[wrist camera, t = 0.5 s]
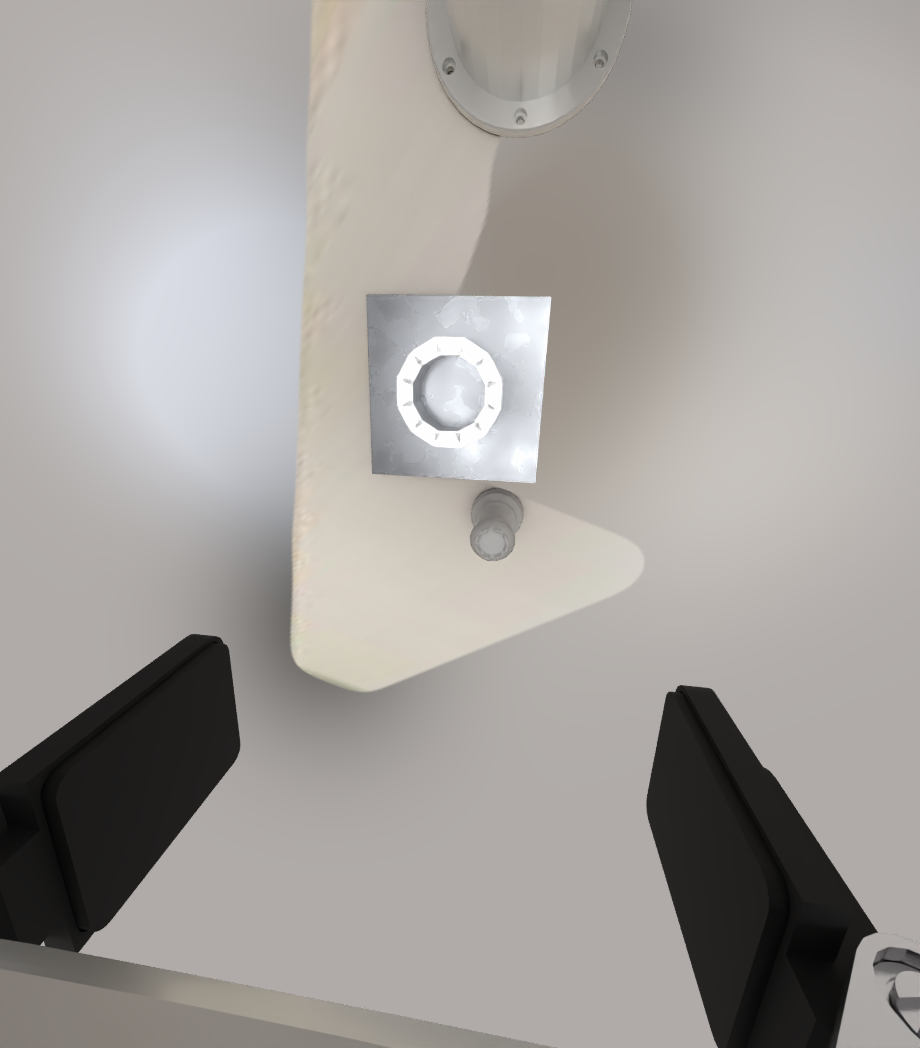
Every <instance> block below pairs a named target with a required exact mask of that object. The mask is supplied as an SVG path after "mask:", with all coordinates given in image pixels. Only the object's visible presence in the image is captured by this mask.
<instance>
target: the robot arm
mask: <svg viewBox="0 0 920 1048" xmlns="http://www.w3.org/2000/svg"><path fill="white" fill-rule="evenodd" d="M631 6H632V0H427V8H426V18H427V33H428V40H429V45H430V49H431V54H432V58H433V62H434V65H435V68H436V71H437V74H438V77H439V80H440V82H441V84H442V86H443V88H444V90H445V91H446V93H447V95H448V97H449V98H450V100H451V101H452V102H453V104H454V105H455V106H456V108H457V109H458V110H459V112H460V113H462V114H463V115H464V116H465V117H466V118H467V119H468V120H470V121H471V122H472V123H473V124H475V125H476V126H478V127H480V128H482V129H484V130H486V131H487V132H489V133H493V134H497V135H500V136H504V137H518V138H525V137H530V136H535V135H539V134H543V133H546V132H548V131H550V130H552V129H555V128H557V127H559V126H561V125H562V124H564V123H565V122H566V121H568V120H570V119H571V118H573V117H574V116H575V115H577V114H578V113H579V112H580V111H581V110H582V109H583V108H584V107H585V106H586V105H587V104H588V103H589V102H590V101H591V100H592V99H593V97H594V96H595V95H596V93H597V92H598V91H599V89H600V88H601V86H602V85H603V84H604V82H605V81H606V79H607V77H608V75H609V73H610V71H611V69H612V67H613V65H614V64H615V62H616V60H617V57H618V54H619V51H620V48H621V45H622V43H623V40H624V37H625V33H626V29H627V25H628V22H629V18H630V14H631ZM596 64H601V65H602V68H597V67H596ZM451 70H452V71H454V72H453V73H452V74H450V75H448V72H449V71H451ZM519 119H522V120H523V121H524V123H523V124H520V125H519V124H517V121H518V120H519ZM239 751H240V737H239V729H238V720H237V712H236V704H235V695H234V687H233V679H232V671H231V663H230V655H229V649H228V647H227V645H225V644H223V641H222V640H221V638H219V637H217V636H208V635H199V634H191V635H189V636H187V637H186V638H185V639H183V640H182V641H180V642H179V643H177V644H176V645H175V646H173V647H172V648H171V649H169V650H168V651H166V652H165V653H164V654H162V655H161V656H159V657H158V658H157V659H155V660H154V661H153V662H151V663H150V664H148V665H147V666H146V667H144V668H143V669H142V670H140V671H139V672H137V673H136V674H135V675H133V676H132V677H131V678H129V679H128V680H126V681H125V682H124V683H122V684H121V685H120V686H118V687H117V688H115V689H114V690H113V691H111V692H110V693H109V694H107V695H106V696H104V697H103V698H102V699H100V700H99V701H97V702H96V703H95V704H93V705H92V706H91V707H89V708H88V709H86V710H85V711H84V712H82V713H81V714H79V715H78V716H77V717H75V718H74V719H73V720H71V721H70V722H68V723H67V724H66V725H64V726H63V727H62V728H60V729H59V730H58V731H56V732H55V733H53V734H52V735H51V736H49V737H48V738H46V739H45V740H44V741H42V742H41V743H40V744H38V745H37V746H35V747H34V748H33V749H31V750H30V751H29V752H27V753H26V754H24V755H23V756H22V757H20V758H19V759H17V760H16V761H15V762H13V763H12V764H11V765H9V766H8V767H6V768H5V769H4V770H2V771H1V772H0V1048H555V1047H550V1046H545V1045H539V1044H535V1043H530V1042H526V1041H520V1040H515V1039H511V1038H506V1037H501V1036H496V1035H491V1034H487V1033H482V1032H476V1031H472V1030H467V1029H462V1028H457V1027H452V1026H447V1025H443V1024H438V1023H433V1022H428V1021H423V1020H418V1019H413V1018H408V1017H403V1016H399V1015H394V1014H388V1013H383V1012H379V1011H374V1010H368V1009H364V1008H359V1007H353V1006H348V1005H344V1004H339V1003H334V1002H329V1001H323V1000H318V999H313V998H308V997H303V996H298V995H293V994H288V993H283V992H278V991H273V990H268V989H263V988H258V987H252V986H248V985H242V984H237V983H233V982H227V981H222V980H217V979H212V978H207V977H202V976H197V975H192V974H187V973H181V972H176V971H171V970H165V969H160V968H155V967H150V966H145V965H140V964H134V963H129V962H123V961H119V960H113V959H108V958H103V957H97V956H92V955H87V954H81V953H78V952H79V951H80V950H81V949H82V947H83V946H84V945H85V944H86V942H87V941H88V940H89V938H90V937H91V936H92V935H93V933H94V932H96V931H99V930H101V929H103V928H104V927H105V926H106V925H107V924H108V923H109V922H110V921H111V920H112V919H113V917H114V916H115V915H116V913H117V912H118V911H119V909H120V908H121V907H122V906H123V904H124V903H125V902H126V901H127V899H128V898H129V897H130V896H131V894H132V893H133V891H134V890H135V889H136V888H137V887H138V885H139V884H140V883H141V881H142V880H143V879H144V878H145V876H146V875H147V874H148V872H149V871H150V870H151V868H152V867H153V866H154V865H155V863H156V862H157V861H158V860H159V858H160V857H161V856H162V854H163V853H164V852H165V850H166V849H167V848H168V847H169V845H170V844H171V843H172V842H173V840H174V839H175V838H176V837H177V835H178V834H179V833H180V831H181V830H182V829H183V828H184V826H185V825H186V824H187V822H188V821H189V820H190V819H191V817H192V816H193V815H194V813H195V812H196V811H197V809H198V808H199V807H200V806H201V804H202V803H203V802H204V800H205V799H206V798H207V797H208V795H209V794H210V793H211V792H212V790H213V789H214V788H215V786H216V785H217V784H218V783H219V781H220V780H221V779H222V777H223V776H224V775H225V773H226V772H227V771H228V770H229V768H230V767H231V766H232V765H233V763H234V762H235V760H236V758H237V756H238V754H239ZM647 815H648V820H649V823H650V827H651V830H652V833H653V837H654V840H655V843H656V847H657V850H658V854H659V857H660V860H661V864H662V867H663V870H664V874H665V877H666V880H667V884H668V887H669V890H670V893H671V897H672V901H673V904H674V907H675V911H676V914H677V917H678V921H679V924H680V927H681V931H682V934H683V937H684V941H685V944H686V947H687V951H688V954H689V958H690V961H691V964H692V968H693V971H694V974H695V978H696V981H697V984H698V987H699V991H700V994H701V998H702V1001H703V1005H704V1008H705V1011H706V1014H707V1018H708V1021H709V1024H710V1028H711V1031H712V1034H713V1037H714V1040H715V1042H716V1044H717V1047H718V1048H920V943H919V942H917V941H914V940H911V939H908V938H905V937H902V936H899V935H896V934H887V933H886V934H885V933H878V932H877V930H876V929H875V927H874V926H873V924H872V923H871V921H870V920H869V918H868V917H867V915H866V914H865V912H864V911H863V909H862V908H861V906H860V905H859V903H858V902H857V900H856V899H855V897H854V896H853V894H852V893H851V891H850V890H849V888H848V887H847V885H846V884H845V882H844V881H843V879H842V878H841V876H840V874H839V873H838V871H837V870H836V869H835V867H834V865H833V864H832V863H831V861H830V859H829V858H828V857H827V855H826V853H825V852H824V850H823V849H822V847H821V846H820V844H819V843H818V842H817V840H816V838H815V837H814V835H813V834H812V832H811V831H810V829H809V828H808V826H807V825H806V823H805V822H804V820H803V819H802V817H801V816H800V814H799V813H798V811H797V810H796V808H795V807H794V805H793V804H792V802H791V800H790V799H789V798H788V796H787V794H786V793H785V791H784V790H783V789H782V787H781V785H780V784H779V782H778V781H777V779H776V778H775V777H774V776H773V774H772V773H771V772H770V771H769V770H767V769H766V768H764V767H763V766H762V765H761V763H760V762H759V760H758V759H757V757H756V756H755V754H754V753H753V751H752V749H751V748H750V747H749V745H748V743H747V742H746V740H745V739H744V737H743V736H742V734H741V733H740V731H739V730H738V728H737V726H736V725H735V723H734V722H733V720H732V719H731V717H730V715H729V714H728V712H727V711H726V709H725V708H724V706H723V705H722V703H721V702H720V700H719V699H718V697H717V695H716V694H715V692H714V691H713V690H712V689H710V688H702V687H692V686H684V685H680V686H678V687H677V689H676V692H668V694H667V695H666V700H665V704H664V710H663V715H662V720H661V725H660V731H659V736H658V742H657V747H656V753H655V757H654V762H653V768H652V773H651V778H650V784H649V789H648V794H647ZM43 941H44V943H45V946H46V947H45V946H40V945H41V943H42V942H43Z"/></svg>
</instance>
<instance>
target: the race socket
mask: <svg viewBox="0 0 920 1048" xmlns="http://www.w3.org/2000/svg"><path fill="white" fill-rule="evenodd" d="M366 296H367V326H368V356H369V387H370V417H371V448H372V474H387V475H404V476H421V477H439V478H456V479H473V480H490V481H508V482H525V483H536V471H537V459H538V447H539V435H540V424H541V412H542V400H543V388H544V387H543V386H544V376H545V364H546V353H547V341H548V328H549V316H550V304H551V297H527V296H526V297H525V296H523V297H521V296H444V295H366Z"/></svg>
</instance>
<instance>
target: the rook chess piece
mask: <svg viewBox="0 0 920 1048" xmlns="http://www.w3.org/2000/svg"><path fill="white" fill-rule="evenodd" d="M471 514H472V523H473V525H474V528H473V530H472V533H471V535H470V542H471V546H472V548H473V550H474V552H475V553H476V554H477V555H478V556H480V557H481V558H482V559H485V560H487V561H498V560H500V559H503V558H505V557H507V556H508V555H509V554H510V553H511V552H512V550H513V547H514V545H515V535H514V534H515V533H516V532H517V531H518V530H519V528H520V525H521V523H522V519H523V507H522V505H521V503H520V501H519V499H518V498H517V497H516V496H515V495H514V494H513V493H511V492H509V491H506V490H504V489H490V490H488V491H485V492H483V493H481V495H480V496H479V497H478V498H477V499H476V500H475V502H474V504H473V507H472V512H471Z"/></svg>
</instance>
